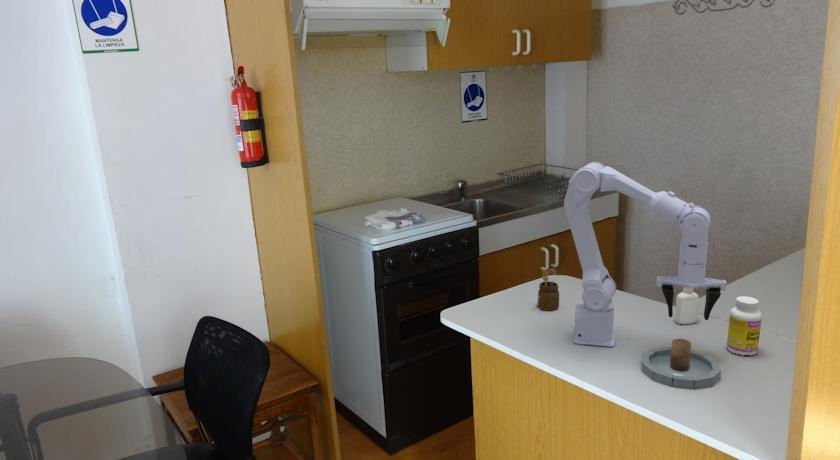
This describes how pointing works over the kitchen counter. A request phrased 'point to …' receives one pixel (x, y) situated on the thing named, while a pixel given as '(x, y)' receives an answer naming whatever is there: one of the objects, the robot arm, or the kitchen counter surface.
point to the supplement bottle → (744, 326)
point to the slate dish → (698, 376)
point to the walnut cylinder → (680, 355)
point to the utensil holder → (548, 294)
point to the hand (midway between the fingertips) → (688, 317)
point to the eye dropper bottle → (686, 307)
